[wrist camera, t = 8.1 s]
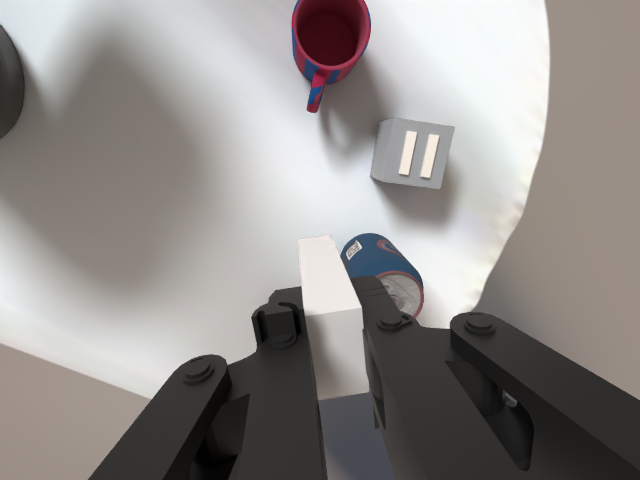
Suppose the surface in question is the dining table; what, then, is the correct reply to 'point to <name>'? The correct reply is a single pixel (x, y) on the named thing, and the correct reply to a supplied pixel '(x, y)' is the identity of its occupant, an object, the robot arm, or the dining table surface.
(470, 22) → the dining table surface
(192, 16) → the dining table surface
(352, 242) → the soda can
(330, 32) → the mug
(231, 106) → the dining table surface
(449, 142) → the slate numbered block
